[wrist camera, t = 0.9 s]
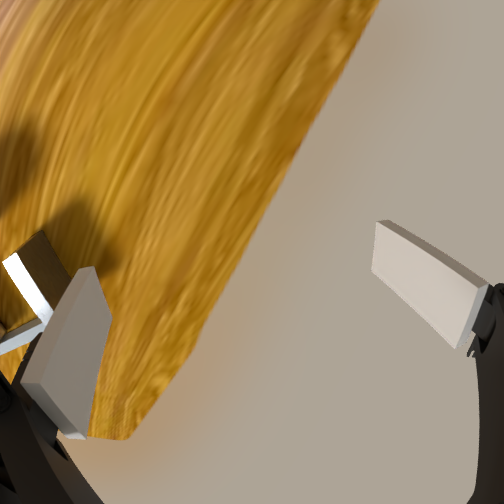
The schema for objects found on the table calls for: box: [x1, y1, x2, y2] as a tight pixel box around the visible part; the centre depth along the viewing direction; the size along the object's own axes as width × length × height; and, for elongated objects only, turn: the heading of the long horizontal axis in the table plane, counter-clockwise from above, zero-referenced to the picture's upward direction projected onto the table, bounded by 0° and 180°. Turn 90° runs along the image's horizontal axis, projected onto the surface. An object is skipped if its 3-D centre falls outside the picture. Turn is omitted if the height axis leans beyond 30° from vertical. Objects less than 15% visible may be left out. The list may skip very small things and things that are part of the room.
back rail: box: [0, 317, 46, 355], centre depth 36 cm, size 2×24×3 cm, turn 110°
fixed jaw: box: [3, 230, 72, 326], centre depth 31 cm, size 11×4×8 cm, turn 20°
